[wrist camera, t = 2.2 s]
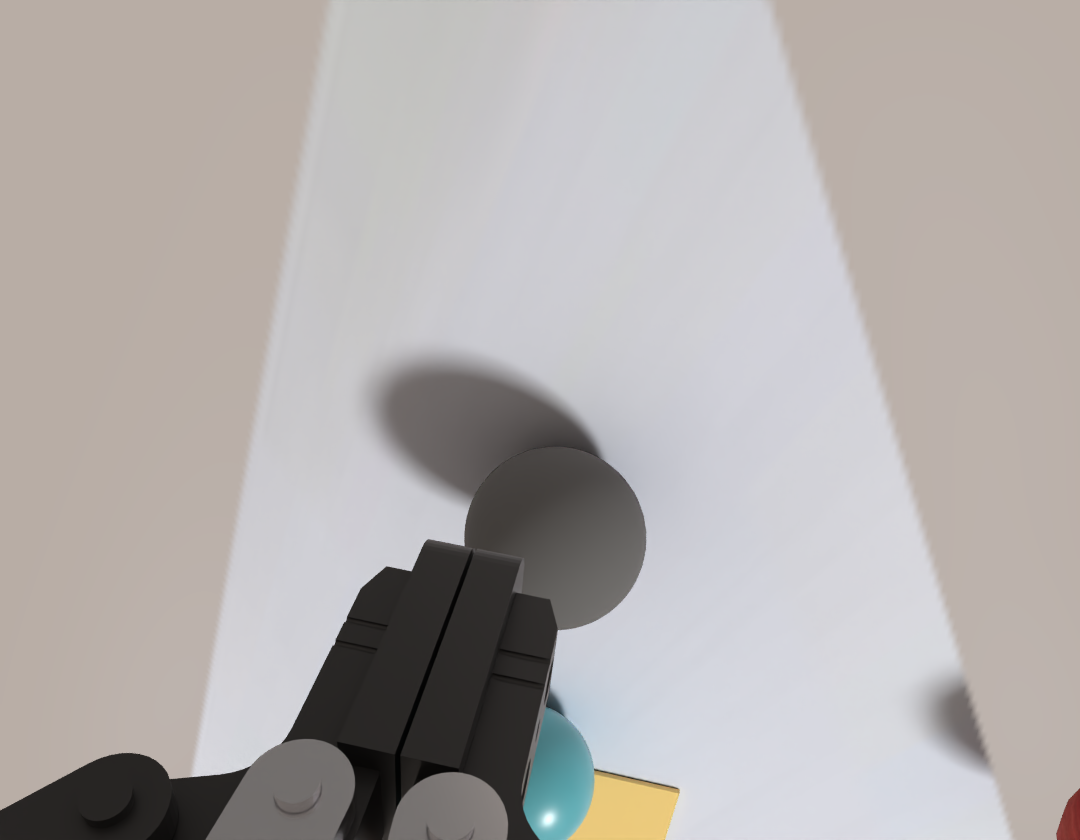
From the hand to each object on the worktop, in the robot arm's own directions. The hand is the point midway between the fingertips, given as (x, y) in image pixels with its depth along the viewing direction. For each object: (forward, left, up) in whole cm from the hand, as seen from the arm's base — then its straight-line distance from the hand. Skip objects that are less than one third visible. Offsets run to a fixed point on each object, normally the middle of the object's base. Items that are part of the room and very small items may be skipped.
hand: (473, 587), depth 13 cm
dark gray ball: (-10, -2, -12) cm, 16 cm away
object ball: (-24, -4, -12) cm, 27 cm away
